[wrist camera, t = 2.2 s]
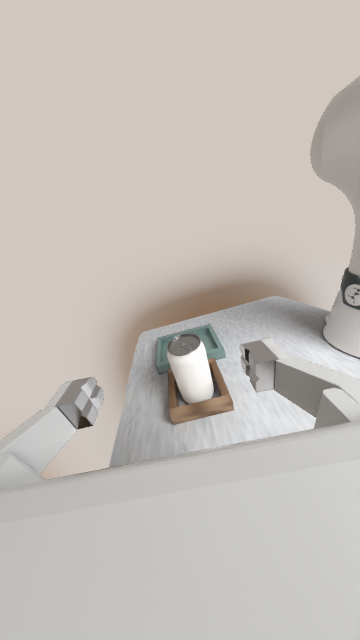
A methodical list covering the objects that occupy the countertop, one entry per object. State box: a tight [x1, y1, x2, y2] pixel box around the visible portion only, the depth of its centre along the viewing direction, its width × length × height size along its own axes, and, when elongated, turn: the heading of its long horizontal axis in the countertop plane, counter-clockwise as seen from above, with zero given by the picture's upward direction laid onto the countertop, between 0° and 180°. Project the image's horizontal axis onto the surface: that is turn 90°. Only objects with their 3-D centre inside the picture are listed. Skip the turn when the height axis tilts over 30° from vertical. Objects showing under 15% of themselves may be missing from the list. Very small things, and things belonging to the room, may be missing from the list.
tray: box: [156, 324, 225, 374], centre depth 42 cm, size 16×12×2 cm
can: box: [167, 333, 214, 404], centre depth 29 cm, size 6×6×12 cm
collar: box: [168, 358, 234, 425], centre depth 31 cm, size 10×10×2 cm
